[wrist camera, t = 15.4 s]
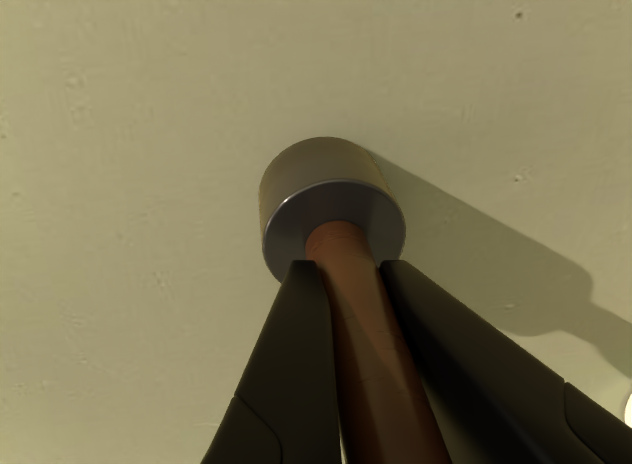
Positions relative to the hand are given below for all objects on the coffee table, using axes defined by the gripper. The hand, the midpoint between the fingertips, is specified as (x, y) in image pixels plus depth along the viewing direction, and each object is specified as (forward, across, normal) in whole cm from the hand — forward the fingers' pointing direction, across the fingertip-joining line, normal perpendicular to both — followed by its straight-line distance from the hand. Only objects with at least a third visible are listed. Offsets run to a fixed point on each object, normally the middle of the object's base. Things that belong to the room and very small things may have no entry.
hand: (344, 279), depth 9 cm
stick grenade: (+3, 0, 0) cm, 3 cm away
